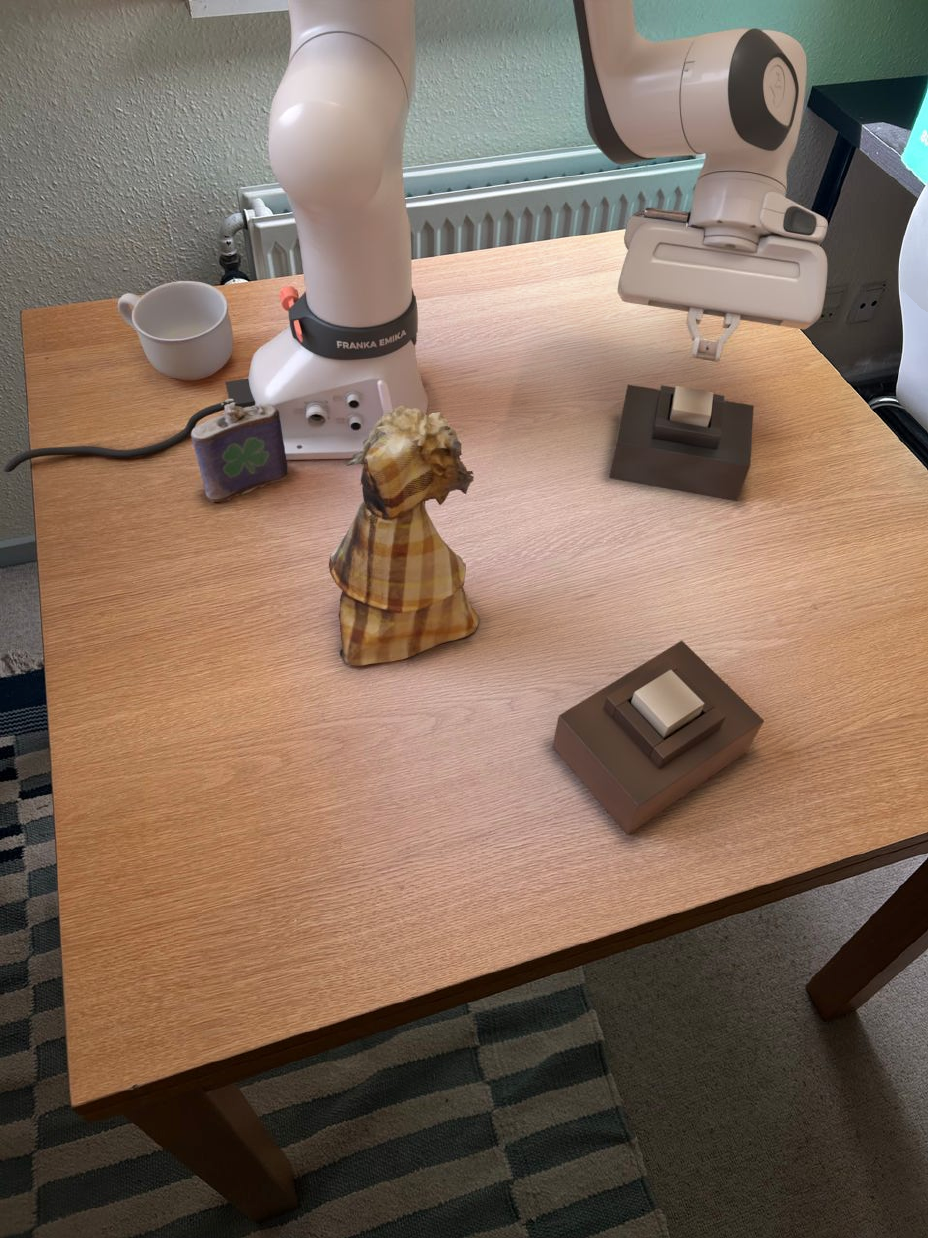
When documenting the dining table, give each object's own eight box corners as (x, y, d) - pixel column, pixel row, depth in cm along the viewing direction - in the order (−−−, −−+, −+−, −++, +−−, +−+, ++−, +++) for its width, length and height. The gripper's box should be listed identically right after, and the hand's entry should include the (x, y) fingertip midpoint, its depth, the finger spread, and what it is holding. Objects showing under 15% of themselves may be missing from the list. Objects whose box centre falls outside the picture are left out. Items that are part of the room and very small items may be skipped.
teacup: (257, 358, 112) (247, 300, 105) (196, 405, 106) (181, 347, 100) (172, 319, 116) (157, 261, 110) (109, 363, 110) (89, 304, 104)
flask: (211, 506, 96) (191, 427, 88) (201, 489, 98) (180, 409, 89) (292, 477, 99) (280, 398, 91) (281, 461, 101) (268, 381, 92)
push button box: (627, 835, 75) (642, 796, 69) (551, 746, 80) (560, 703, 74) (747, 751, 80) (771, 709, 75) (669, 673, 85) (686, 627, 80)
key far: (669, 422, 97) (672, 408, 95) (672, 398, 99) (676, 385, 98) (707, 428, 96) (711, 415, 95) (709, 404, 99) (713, 391, 97)
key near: (663, 739, 73) (668, 727, 72) (630, 703, 75) (634, 692, 74) (699, 715, 75) (704, 703, 73) (666, 681, 77) (670, 669, 75)
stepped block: (608, 478, 101) (619, 428, 95) (620, 420, 107) (630, 370, 101) (737, 501, 99) (755, 452, 94) (741, 441, 105) (758, 392, 100)
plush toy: (304, 560, 91) (299, 395, 69) (433, 528, 95) (468, 361, 72) (347, 685, 86) (356, 551, 63) (482, 646, 89) (535, 506, 67)
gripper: (631, 193, 90) (603, 337, 91) (845, 223, 87) (812, 370, 89) (629, 214, 96) (603, 348, 98) (828, 242, 93) (798, 379, 95)
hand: (704, 359), depth 93 cm, fingers closed
